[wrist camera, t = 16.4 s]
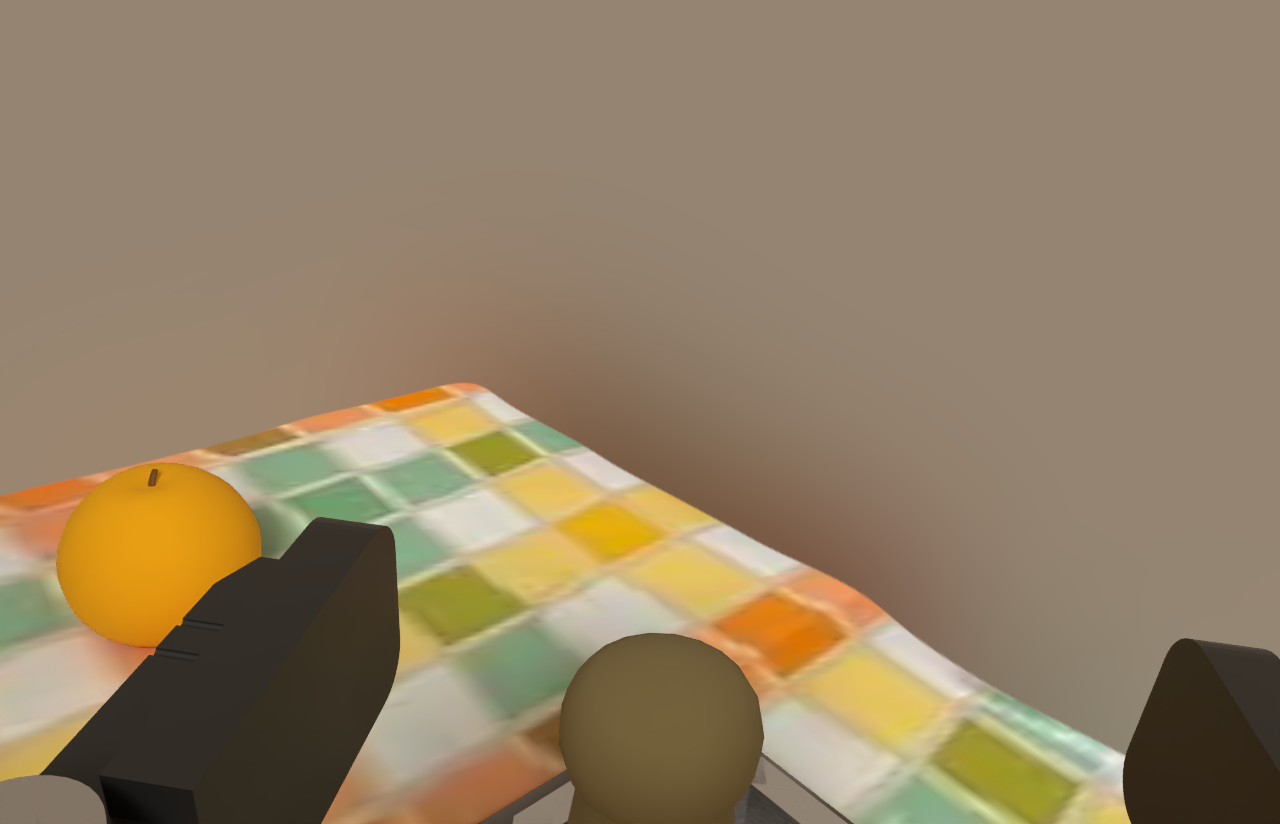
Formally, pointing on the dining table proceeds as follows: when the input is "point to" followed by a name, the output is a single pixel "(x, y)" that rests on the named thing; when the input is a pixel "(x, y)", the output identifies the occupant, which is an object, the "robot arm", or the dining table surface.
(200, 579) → the orange
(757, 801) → the steel ring
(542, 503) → the dining table surface
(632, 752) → the cork
